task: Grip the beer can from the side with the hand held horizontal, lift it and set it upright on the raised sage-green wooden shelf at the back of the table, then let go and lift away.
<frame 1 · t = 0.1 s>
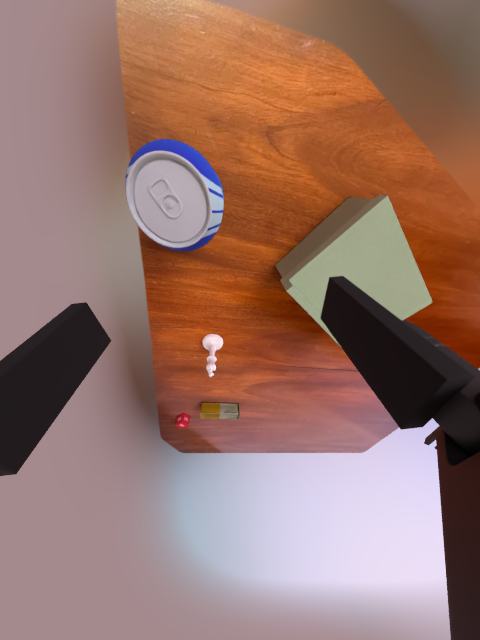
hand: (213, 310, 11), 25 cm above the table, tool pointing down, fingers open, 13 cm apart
chess piece: (212, 341, 45), on the table
shelf: (338, 275, 37), on the table
medication box: (220, 403, 61), on the table
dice: (183, 415, 64), on the table
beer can: (195, 195, 28), on the table
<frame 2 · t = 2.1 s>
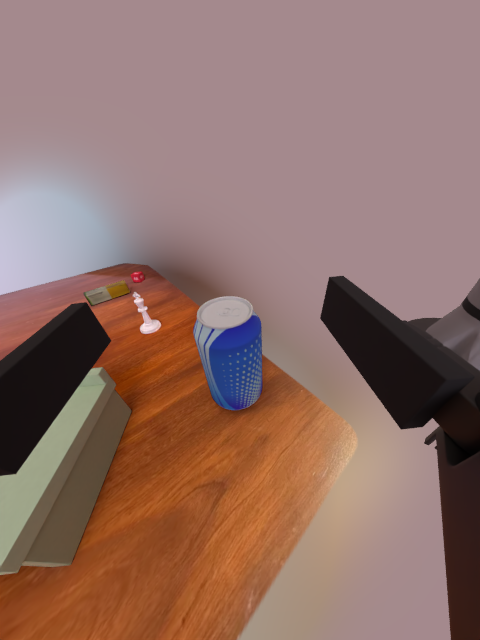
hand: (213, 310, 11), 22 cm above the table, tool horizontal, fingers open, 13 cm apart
chess piece: (151, 328, 48), on the table
shelf: (23, 478, 24), on the table
medication box: (111, 298, 63), on the table
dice: (139, 281, 74), on the table
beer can: (237, 390, 32), on the table
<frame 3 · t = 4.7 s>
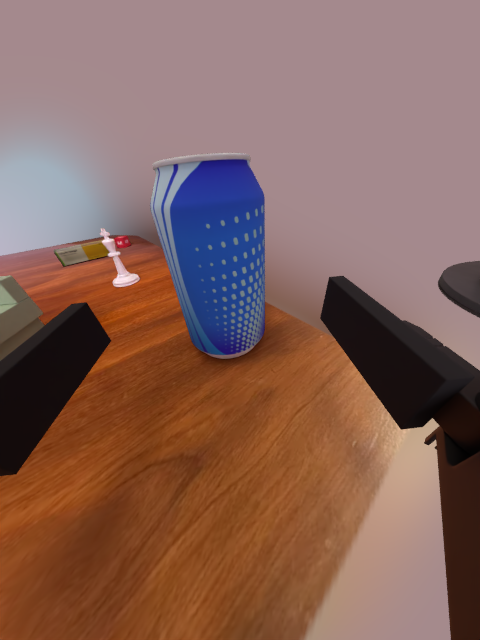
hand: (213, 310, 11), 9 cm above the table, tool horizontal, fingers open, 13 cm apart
chess piece: (127, 282, 39), on the table
medication box: (88, 260, 54), on the table
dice: (124, 247, 65), on the table
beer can: (229, 338, 22), on the table
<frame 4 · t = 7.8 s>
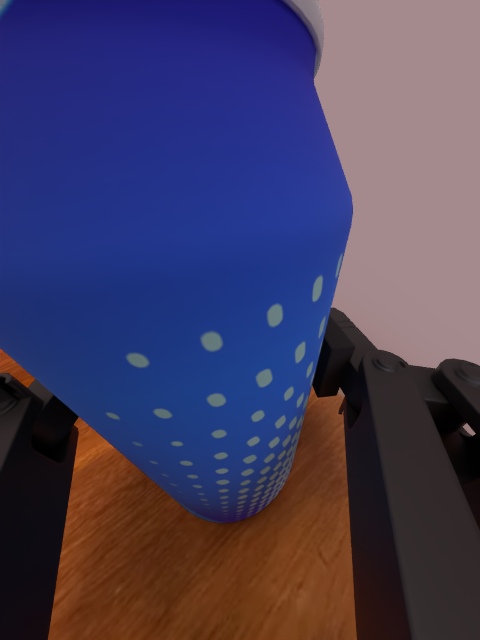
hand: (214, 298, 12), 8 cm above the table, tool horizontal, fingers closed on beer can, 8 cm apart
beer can: (230, 439, 13), on the table, touching gripper
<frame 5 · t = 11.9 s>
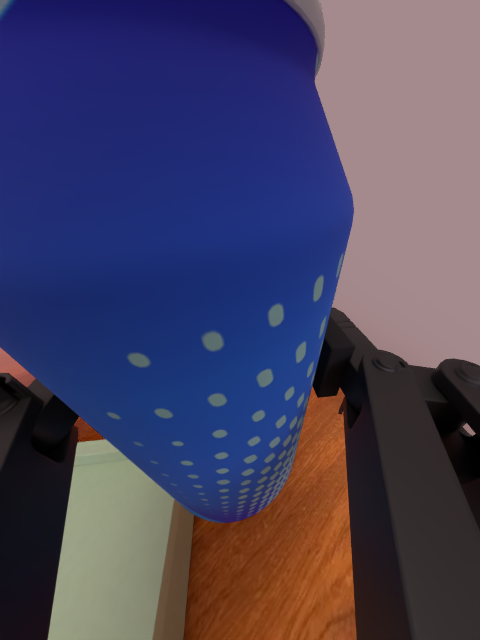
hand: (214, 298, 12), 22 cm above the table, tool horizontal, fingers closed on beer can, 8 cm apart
shelf: (68, 591, 17), on the table
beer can: (231, 439, 13), point 14 cm above the table, touching gripper
when the fingers open (16 cm above the table, at t = 16.1 s): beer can stays where it is, resting on shelf.
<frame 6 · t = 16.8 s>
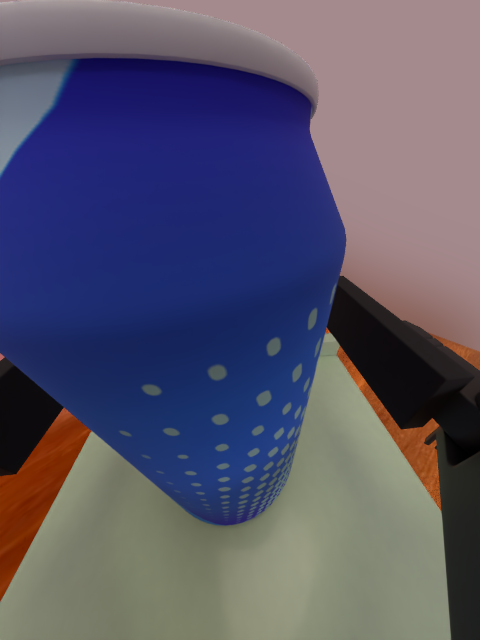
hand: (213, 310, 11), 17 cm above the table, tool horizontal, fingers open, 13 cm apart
shelf: (239, 476, 18), on the table
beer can: (231, 443, 14), point 8 cm above the table, touching shelf
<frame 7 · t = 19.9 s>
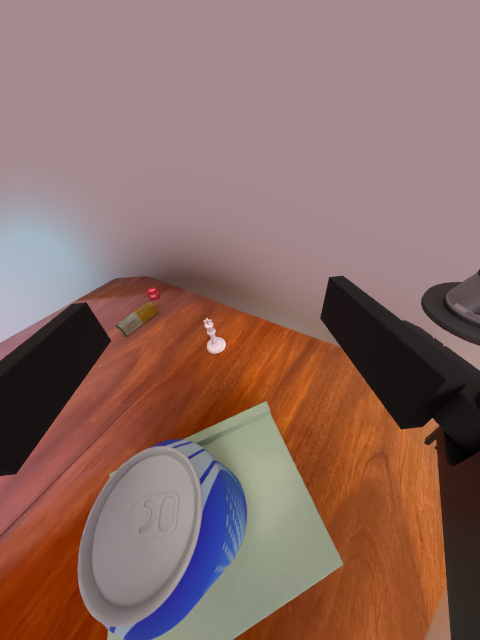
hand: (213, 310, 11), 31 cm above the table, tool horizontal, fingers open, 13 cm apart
chess piece: (216, 346, 49), on the table
shelf: (225, 511, 27), on the table
medication box: (141, 323, 59), on the table
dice: (155, 297, 69), on the table
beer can: (212, 512, 22), point 8 cm above the table, touching shelf
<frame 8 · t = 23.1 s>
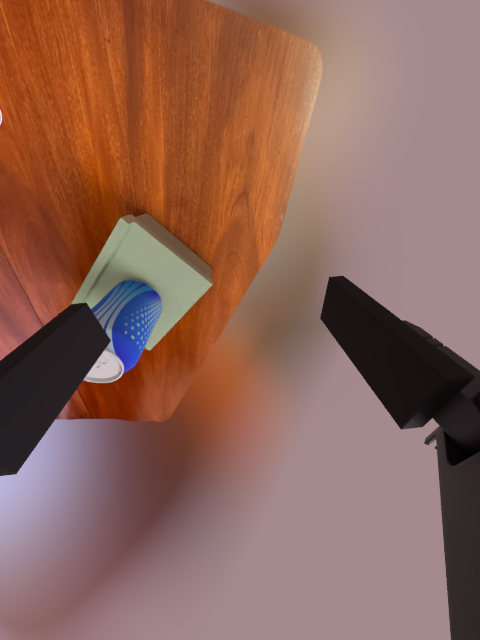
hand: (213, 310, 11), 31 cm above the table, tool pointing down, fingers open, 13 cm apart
shelf: (153, 280, 41), on the table
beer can: (141, 297, 35), point 8 cm above the table, touching shelf
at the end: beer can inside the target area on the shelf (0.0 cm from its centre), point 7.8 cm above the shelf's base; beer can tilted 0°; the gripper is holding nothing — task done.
